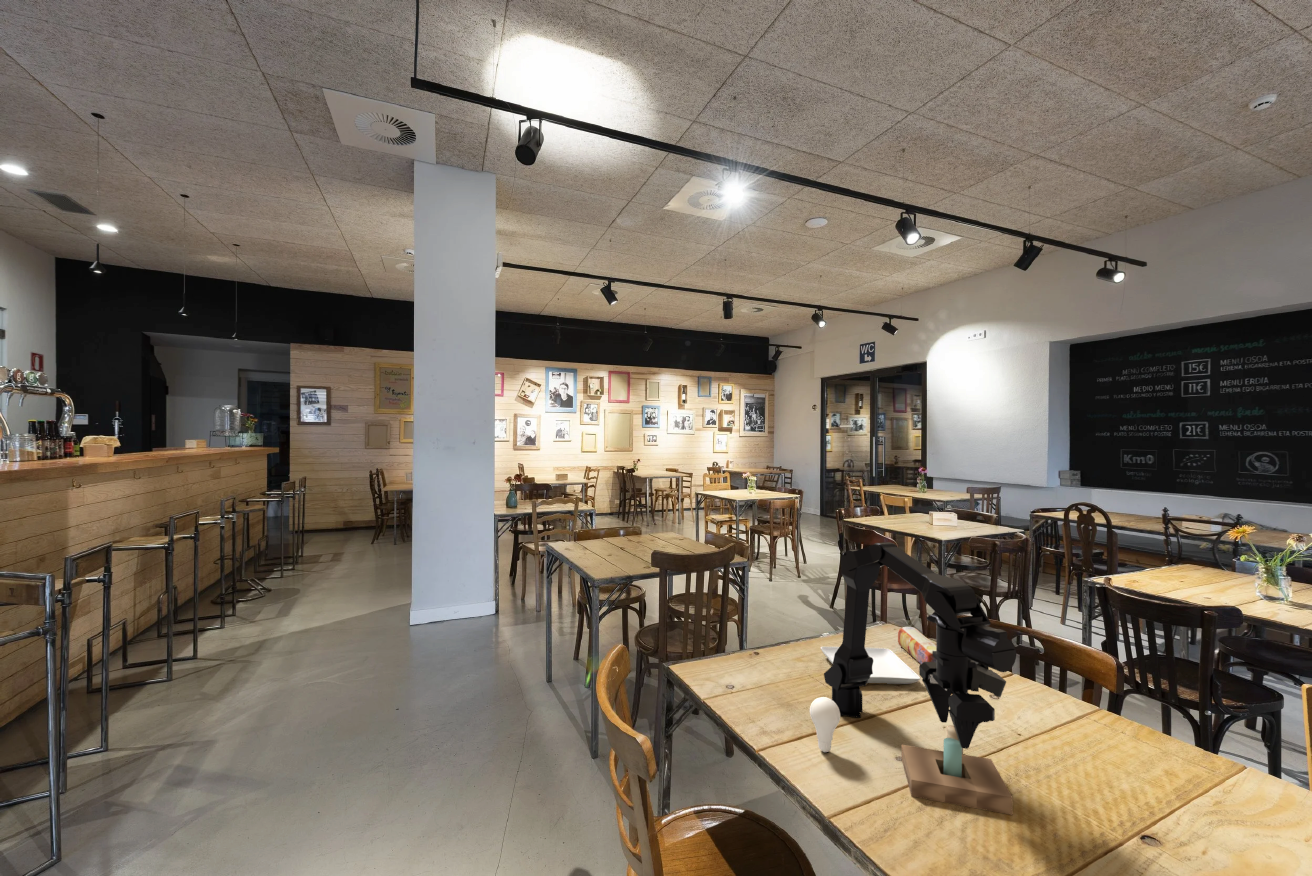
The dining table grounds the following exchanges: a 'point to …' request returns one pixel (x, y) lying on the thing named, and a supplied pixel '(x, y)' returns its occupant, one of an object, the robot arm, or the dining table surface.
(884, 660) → the salad plate
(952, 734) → the short beech pin
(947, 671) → the robot arm
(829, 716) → the lightbulb
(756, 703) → the dining table surface
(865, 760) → the dining table surface
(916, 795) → the walnut hole block
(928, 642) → the snack package
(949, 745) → the long teal pin
